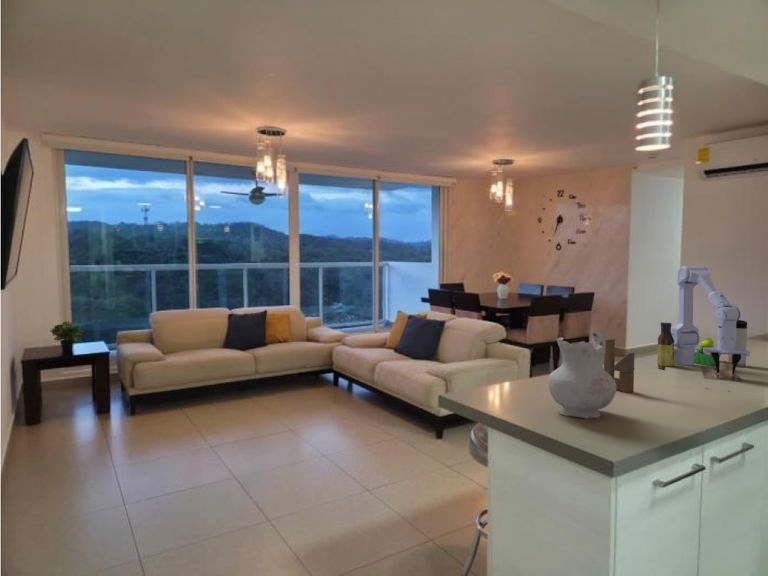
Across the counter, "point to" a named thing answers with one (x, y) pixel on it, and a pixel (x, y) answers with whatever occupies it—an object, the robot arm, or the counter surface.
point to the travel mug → (740, 341)
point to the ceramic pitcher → (582, 379)
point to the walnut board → (712, 373)
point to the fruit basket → (704, 357)
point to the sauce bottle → (665, 347)
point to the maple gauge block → (725, 369)
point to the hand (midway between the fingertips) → (725, 373)
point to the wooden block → (619, 367)
